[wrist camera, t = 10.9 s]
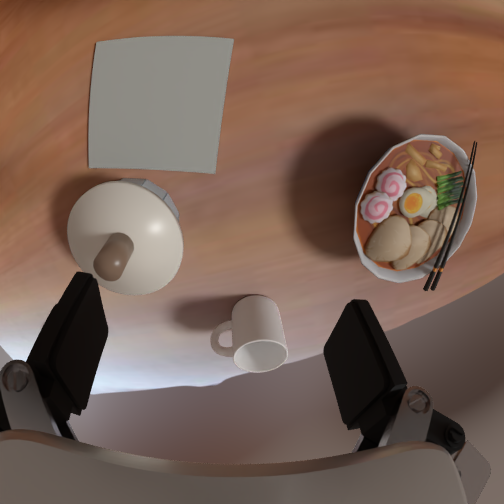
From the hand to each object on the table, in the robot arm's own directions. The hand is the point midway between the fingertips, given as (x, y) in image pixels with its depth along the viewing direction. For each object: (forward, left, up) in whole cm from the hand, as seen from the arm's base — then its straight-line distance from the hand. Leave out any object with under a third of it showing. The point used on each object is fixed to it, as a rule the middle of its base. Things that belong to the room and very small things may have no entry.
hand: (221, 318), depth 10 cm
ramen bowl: (+2, +27, -29) cm, 40 cm away
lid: (+11, -12, -23) cm, 28 cm away
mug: (+27, +6, -29) cm, 40 cm away
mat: (-6, -10, -29) cm, 31 cm away
